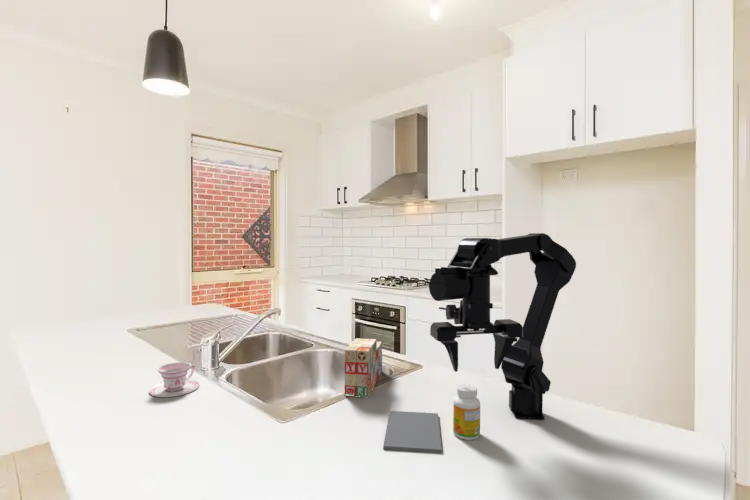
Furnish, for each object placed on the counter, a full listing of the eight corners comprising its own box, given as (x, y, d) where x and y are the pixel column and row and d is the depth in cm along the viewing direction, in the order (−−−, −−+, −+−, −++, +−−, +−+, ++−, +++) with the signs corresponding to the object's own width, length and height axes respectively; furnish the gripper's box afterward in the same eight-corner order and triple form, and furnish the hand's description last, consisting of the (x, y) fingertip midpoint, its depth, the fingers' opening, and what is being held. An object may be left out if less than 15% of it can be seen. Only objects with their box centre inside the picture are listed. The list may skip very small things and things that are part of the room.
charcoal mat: (437, 415, 92) (437, 413, 92) (441, 452, 76) (441, 449, 76) (389, 413, 93) (389, 410, 93) (383, 449, 77) (383, 445, 77)
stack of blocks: (362, 370, 124) (362, 330, 124) (382, 371, 123) (382, 331, 123) (344, 396, 103) (344, 349, 103) (368, 398, 102) (368, 350, 102)
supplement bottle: (450, 428, 86) (450, 383, 86) (474, 427, 86) (475, 382, 86) (457, 441, 80) (457, 393, 80) (483, 440, 81) (484, 392, 81)
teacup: (155, 402, 99) (155, 377, 99) (144, 388, 108) (144, 365, 108) (205, 390, 107) (205, 367, 107) (191, 378, 116) (191, 357, 116)
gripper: (500, 290, 95) (500, 356, 95) (423, 293, 92) (423, 360, 93) (524, 297, 84) (524, 371, 84) (438, 300, 81) (438, 377, 82)
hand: (476, 369), depth 86 cm, fingers open, 9 cm apart
